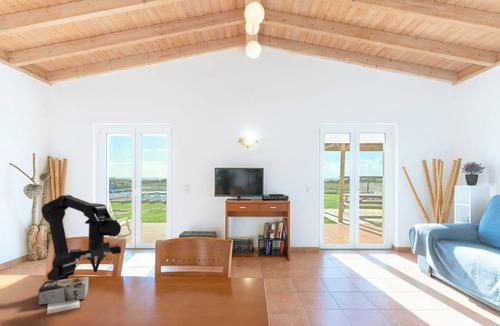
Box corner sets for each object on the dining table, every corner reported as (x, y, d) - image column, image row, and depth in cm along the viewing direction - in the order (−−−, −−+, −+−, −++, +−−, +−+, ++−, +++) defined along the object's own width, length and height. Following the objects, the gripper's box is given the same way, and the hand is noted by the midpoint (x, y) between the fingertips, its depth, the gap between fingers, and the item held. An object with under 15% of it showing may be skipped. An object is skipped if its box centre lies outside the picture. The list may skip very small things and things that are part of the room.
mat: (48, 300, 118) (48, 299, 118) (78, 294, 124) (78, 294, 124) (46, 314, 106) (46, 313, 106) (79, 307, 112) (79, 306, 112)
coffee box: (85, 283, 119) (38, 288, 113) (85, 299, 119) (37, 305, 113) (88, 276, 127) (44, 280, 121) (88, 290, 127) (44, 296, 121)
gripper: (70, 240, 110) (69, 282, 110) (123, 235, 120) (122, 273, 120) (70, 235, 120) (68, 274, 119) (119, 231, 130) (118, 266, 129)
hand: (95, 272), depth 121 cm, fingers closed
